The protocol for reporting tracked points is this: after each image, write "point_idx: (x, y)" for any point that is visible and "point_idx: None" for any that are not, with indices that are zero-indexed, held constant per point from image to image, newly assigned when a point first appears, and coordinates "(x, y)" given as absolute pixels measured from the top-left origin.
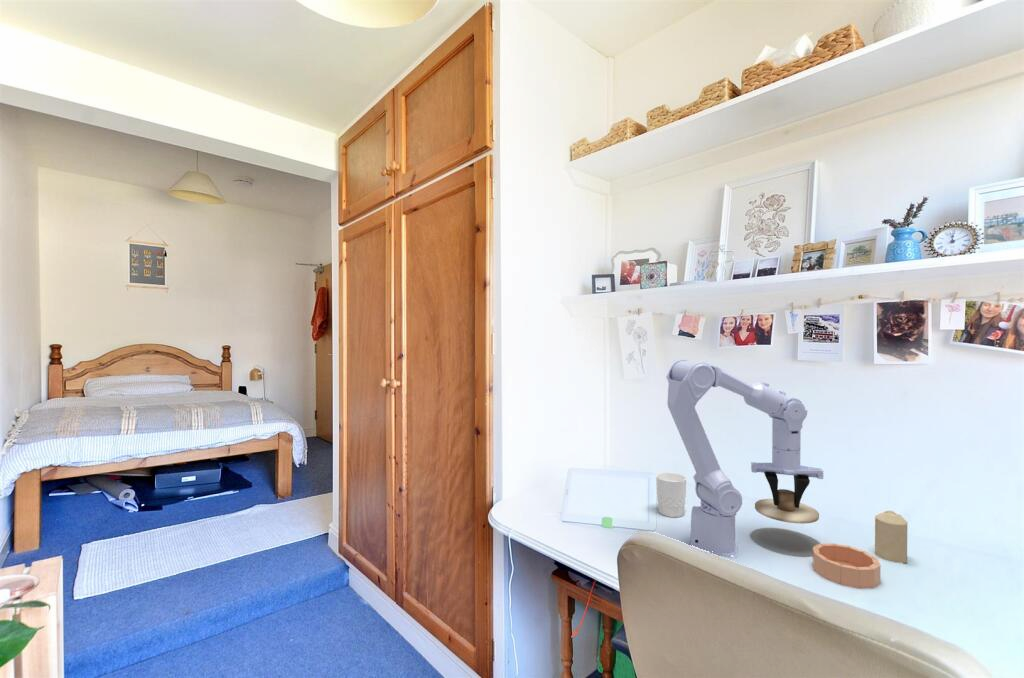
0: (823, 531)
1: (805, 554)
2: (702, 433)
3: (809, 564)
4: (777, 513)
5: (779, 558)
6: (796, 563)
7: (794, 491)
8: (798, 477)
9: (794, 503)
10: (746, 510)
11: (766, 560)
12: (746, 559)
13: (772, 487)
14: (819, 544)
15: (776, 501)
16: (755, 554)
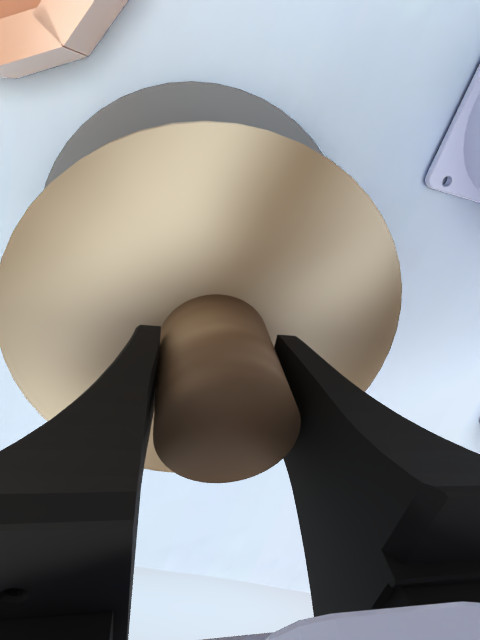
0: (16, 402)
1: (145, 119)
2: None
3: (149, 8)
4: (307, 237)
5: (284, 61)
6: (216, 8)
7: (142, 470)
8: (96, 613)
9: (165, 350)
10: (258, 485)
11: (360, 17)
12: (456, 9)
13: (394, 417)
14: (65, 27)
15: (300, 346)
16: (384, 88)
